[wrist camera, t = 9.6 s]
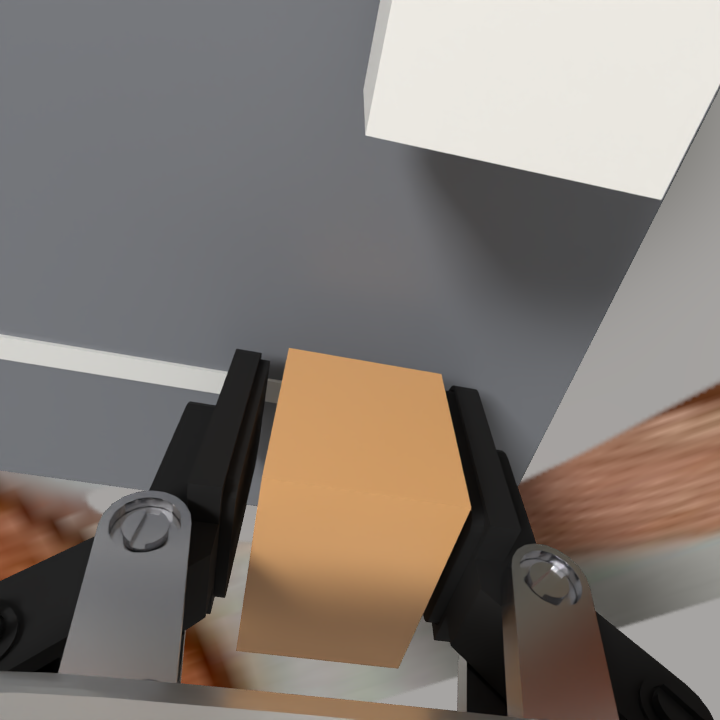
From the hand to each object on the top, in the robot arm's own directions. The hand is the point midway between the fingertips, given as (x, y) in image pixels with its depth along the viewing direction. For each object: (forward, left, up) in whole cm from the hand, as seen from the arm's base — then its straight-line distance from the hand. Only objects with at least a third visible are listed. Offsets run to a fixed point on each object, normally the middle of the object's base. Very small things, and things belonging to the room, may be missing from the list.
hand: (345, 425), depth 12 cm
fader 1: (0, 0, -1) cm, 1 cm away
